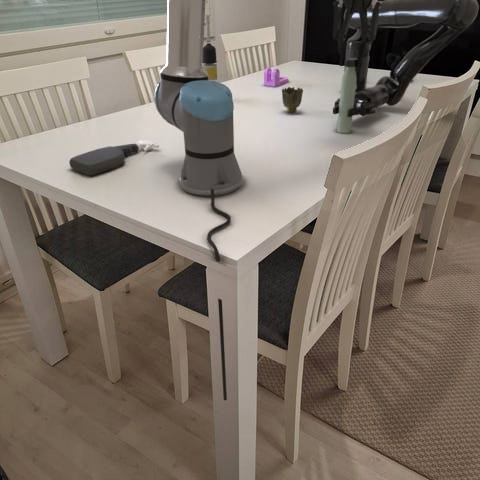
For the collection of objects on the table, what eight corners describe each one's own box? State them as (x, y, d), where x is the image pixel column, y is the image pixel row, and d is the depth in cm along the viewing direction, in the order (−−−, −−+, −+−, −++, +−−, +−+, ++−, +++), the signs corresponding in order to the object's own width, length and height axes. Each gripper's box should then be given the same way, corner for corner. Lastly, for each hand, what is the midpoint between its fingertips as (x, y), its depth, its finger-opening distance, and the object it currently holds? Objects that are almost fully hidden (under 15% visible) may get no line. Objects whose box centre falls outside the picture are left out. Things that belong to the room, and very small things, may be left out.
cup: (277, 113, 160) (278, 90, 155) (285, 108, 165) (286, 85, 161) (297, 115, 157) (298, 92, 152) (304, 110, 162) (306, 87, 158)
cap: (341, 66, 131) (342, 59, 130) (345, 64, 134) (346, 57, 133) (355, 67, 130) (356, 60, 129) (359, 65, 133) (360, 58, 132)
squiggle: (400, 92, 202) (376, 71, 205) (417, 76, 202) (392, 56, 205) (405, 81, 191) (380, 59, 194) (423, 64, 191) (397, 42, 194)
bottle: (335, 132, 142) (341, 61, 130) (338, 128, 145) (346, 58, 134) (348, 134, 140) (356, 62, 129) (352, 129, 143) (360, 59, 132)
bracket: (274, 86, 193) (275, 69, 190) (264, 85, 196) (264, 68, 193) (290, 81, 202) (291, 64, 198) (279, 79, 205) (280, 63, 201)
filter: (220, 99, 177) (217, 15, 161) (206, 100, 176) (202, 16, 160) (215, 96, 182) (212, 14, 166) (202, 97, 180) (197, 14, 164)
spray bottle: (67, 168, 120) (139, 144, 136) (91, 178, 114) (163, 151, 130) (65, 157, 118) (137, 134, 134) (89, 167, 112) (162, 142, 128)
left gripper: (324, -25, 121) (318, 65, 133) (389, -26, 113) (376, 71, 125) (334, -26, 126) (327, 61, 139) (397, -27, 118) (383, 66, 131)
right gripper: (349, 86, 150) (322, 96, 139) (389, 92, 142) (364, 103, 131) (346, 108, 154) (320, 120, 143) (385, 115, 146) (360, 128, 135)
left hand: (350, 65), depth 132 cm, fingers open, 5 cm apart
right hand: (341, 112), depth 137 cm, fingers closed on bottle, 4 cm apart
